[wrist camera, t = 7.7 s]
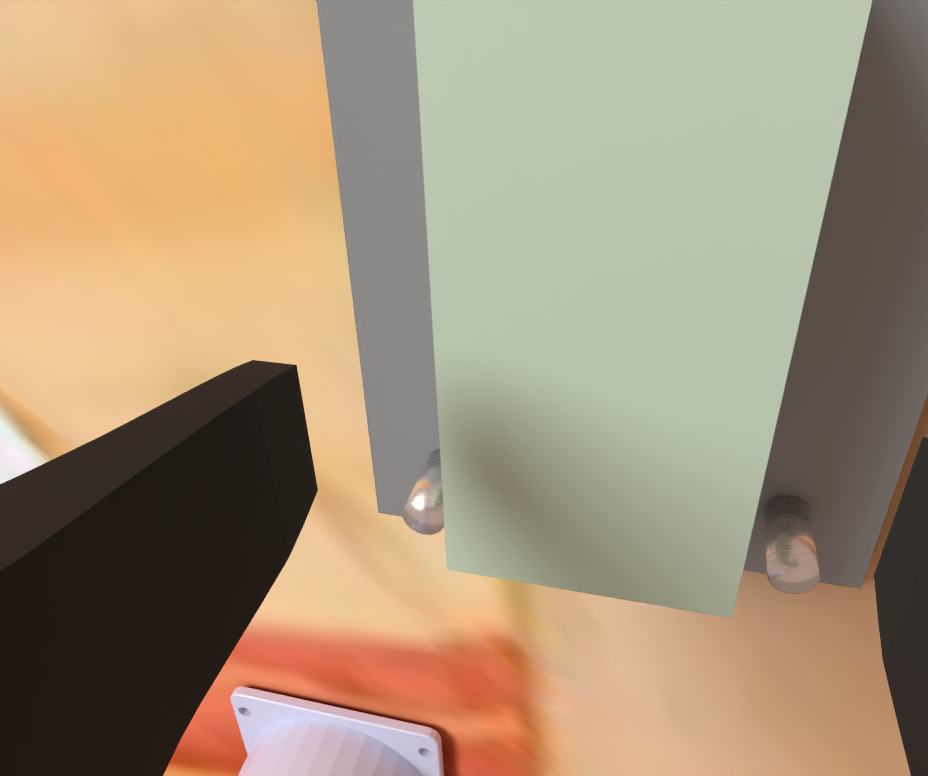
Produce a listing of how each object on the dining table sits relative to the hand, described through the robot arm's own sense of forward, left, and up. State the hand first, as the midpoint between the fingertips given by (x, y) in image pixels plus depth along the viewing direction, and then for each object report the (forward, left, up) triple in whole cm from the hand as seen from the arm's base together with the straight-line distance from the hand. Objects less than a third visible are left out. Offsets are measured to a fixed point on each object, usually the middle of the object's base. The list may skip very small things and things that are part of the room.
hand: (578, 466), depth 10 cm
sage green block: (0, 0, -7) cm, 7 cm away
